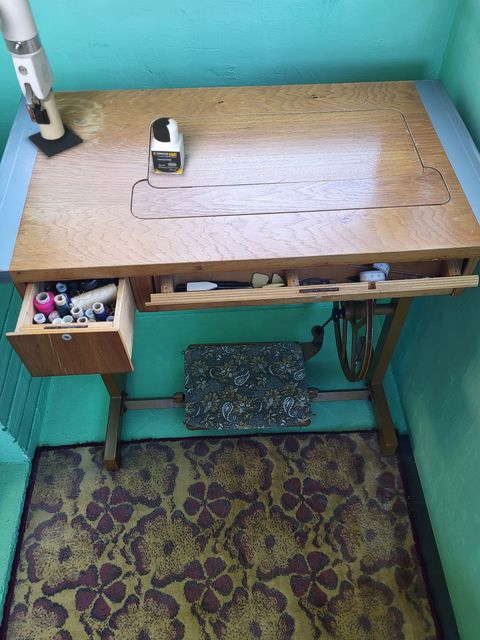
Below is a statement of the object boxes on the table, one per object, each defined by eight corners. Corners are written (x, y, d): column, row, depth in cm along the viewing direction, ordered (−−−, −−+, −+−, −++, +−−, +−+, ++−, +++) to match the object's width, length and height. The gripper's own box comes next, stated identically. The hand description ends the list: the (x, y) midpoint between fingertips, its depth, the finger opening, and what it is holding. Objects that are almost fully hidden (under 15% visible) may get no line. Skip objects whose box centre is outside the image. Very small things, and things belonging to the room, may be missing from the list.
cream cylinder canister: (67, 126, 138) (56, 89, 130) (61, 140, 135) (50, 103, 127) (38, 124, 138) (26, 88, 130) (32, 138, 135) (18, 102, 126)
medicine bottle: (154, 173, 133) (147, 131, 123) (157, 155, 137) (151, 113, 127) (182, 174, 133) (178, 132, 123) (184, 156, 137) (180, 114, 127)
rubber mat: (48, 157, 135) (48, 155, 134) (29, 139, 139) (28, 136, 138) (82, 142, 139) (81, 139, 138) (62, 124, 142) (61, 122, 142)
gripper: (29, 63, 113) (53, 137, 128) (50, 23, 122) (70, 97, 137) (-6, 61, 113) (22, 135, 128) (17, 21, 122) (41, 95, 137)
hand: (47, 114), depth 132 cm, fingers closed on cream cylinder canister, 6 cm apart
